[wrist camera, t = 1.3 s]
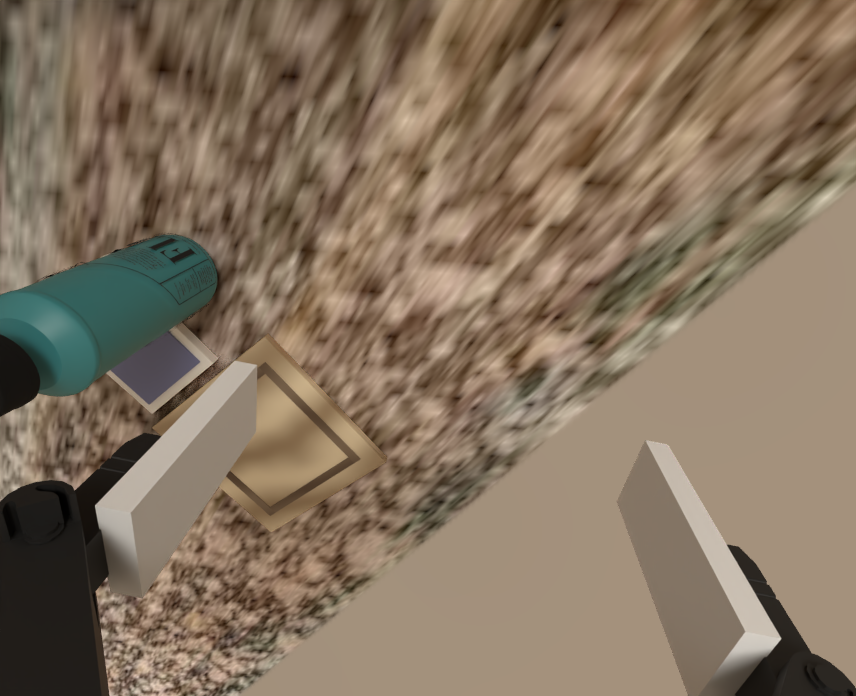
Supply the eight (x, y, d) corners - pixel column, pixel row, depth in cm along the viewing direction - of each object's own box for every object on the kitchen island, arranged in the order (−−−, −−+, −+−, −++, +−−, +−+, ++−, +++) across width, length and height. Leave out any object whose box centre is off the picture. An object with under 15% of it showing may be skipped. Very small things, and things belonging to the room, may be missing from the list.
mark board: (157, 423, 47) (151, 428, 46) (267, 333, 42) (263, 337, 41) (274, 526, 52) (270, 533, 51) (387, 457, 46) (385, 463, 46)
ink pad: (52, 313, 43) (42, 318, 42) (110, 252, 40) (100, 256, 39) (158, 408, 46) (150, 415, 45) (218, 358, 43) (212, 364, 42)
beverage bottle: (229, 236, 39) (14, 336, 21) (229, 312, 41) (40, 460, 23) (149, 219, 39) (-137, 306, 21) (154, 297, 41) (-93, 433, 23)
